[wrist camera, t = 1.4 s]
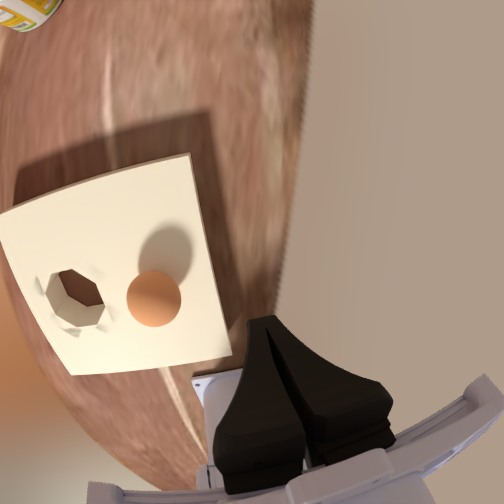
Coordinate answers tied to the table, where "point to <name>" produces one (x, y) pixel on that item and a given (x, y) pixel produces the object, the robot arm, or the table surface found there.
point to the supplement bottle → (26, 13)
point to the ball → (153, 298)
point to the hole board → (118, 266)
